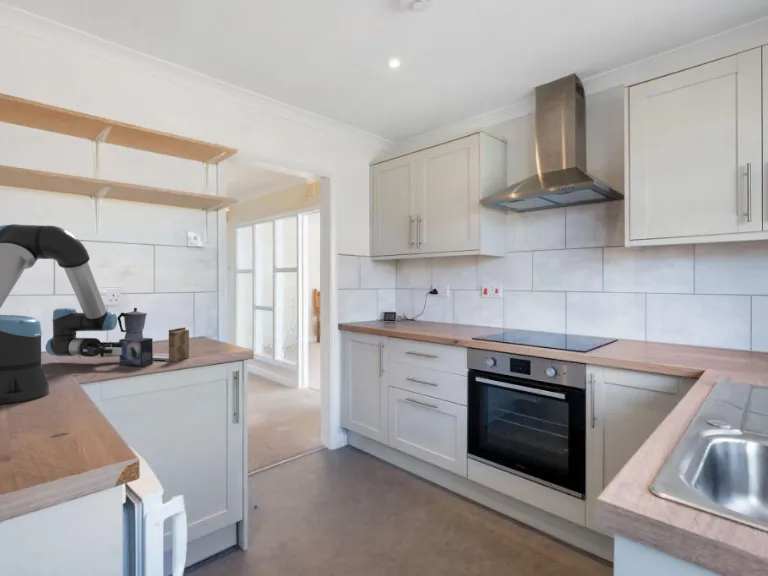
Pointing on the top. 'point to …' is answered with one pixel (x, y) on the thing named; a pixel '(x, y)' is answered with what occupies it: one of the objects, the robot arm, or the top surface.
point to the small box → (136, 351)
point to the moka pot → (133, 323)
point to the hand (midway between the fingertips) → (134, 348)
